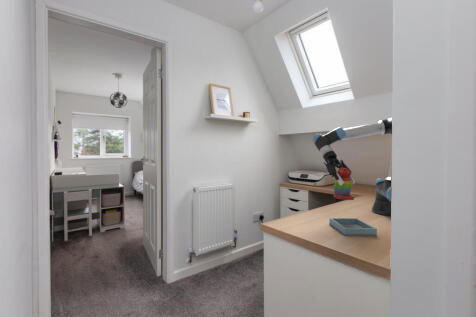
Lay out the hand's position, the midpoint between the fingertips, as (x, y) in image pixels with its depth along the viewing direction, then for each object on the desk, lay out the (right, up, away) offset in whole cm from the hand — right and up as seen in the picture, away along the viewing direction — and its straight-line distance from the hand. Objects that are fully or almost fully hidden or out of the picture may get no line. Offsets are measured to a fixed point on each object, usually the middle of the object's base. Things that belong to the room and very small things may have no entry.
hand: (347, 183), depth 131 cm
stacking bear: (-1, -9, +4) cm, 10 cm away
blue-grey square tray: (-3, -23, -10) cm, 25 cm away
